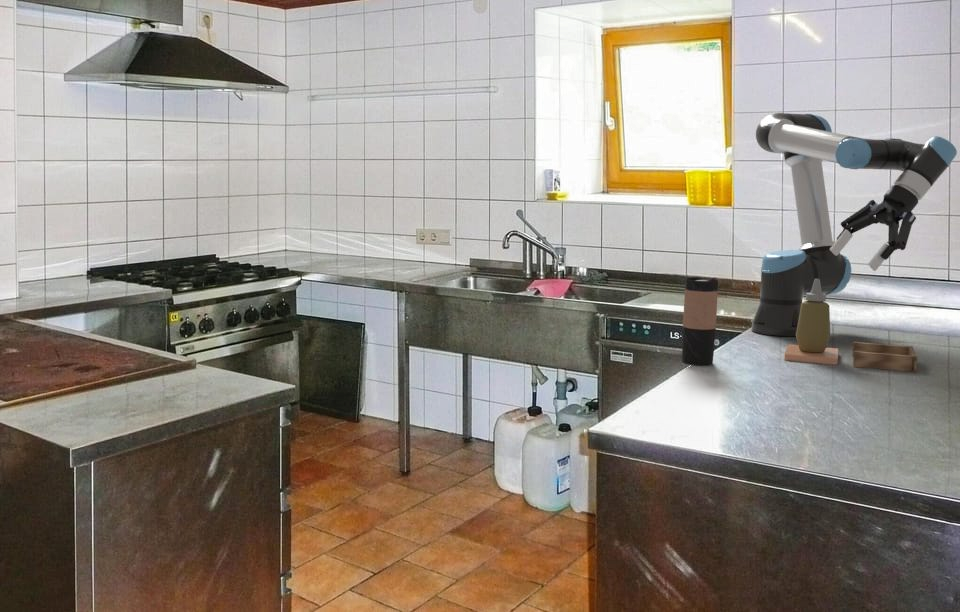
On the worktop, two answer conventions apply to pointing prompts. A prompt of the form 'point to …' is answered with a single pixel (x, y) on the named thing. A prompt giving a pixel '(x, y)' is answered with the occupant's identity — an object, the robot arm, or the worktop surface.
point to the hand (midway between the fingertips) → (851, 260)
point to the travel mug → (699, 321)
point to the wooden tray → (884, 356)
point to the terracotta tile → (811, 355)
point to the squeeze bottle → (814, 321)
